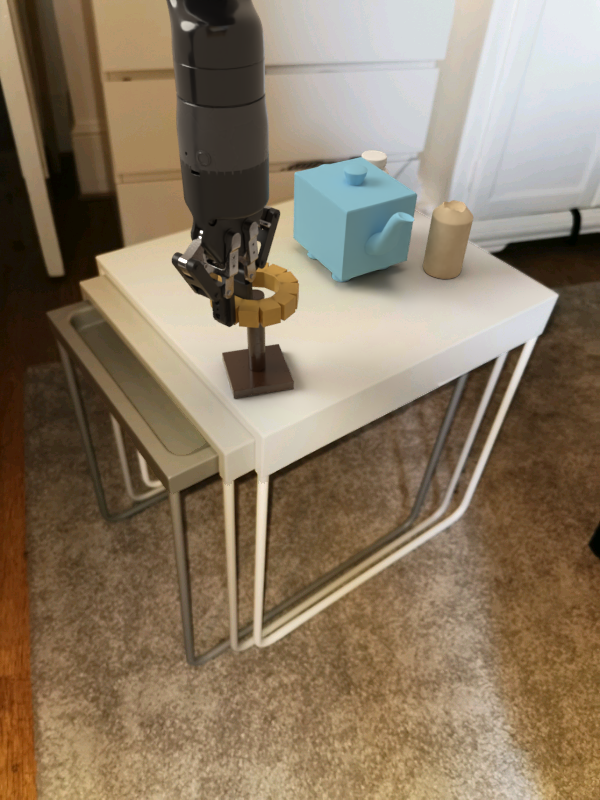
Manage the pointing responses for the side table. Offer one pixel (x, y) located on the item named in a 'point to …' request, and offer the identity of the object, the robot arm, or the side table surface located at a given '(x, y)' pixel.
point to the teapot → (352, 217)
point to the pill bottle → (376, 159)
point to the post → (257, 364)
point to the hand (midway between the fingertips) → (233, 316)
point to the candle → (447, 239)
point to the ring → (272, 307)
